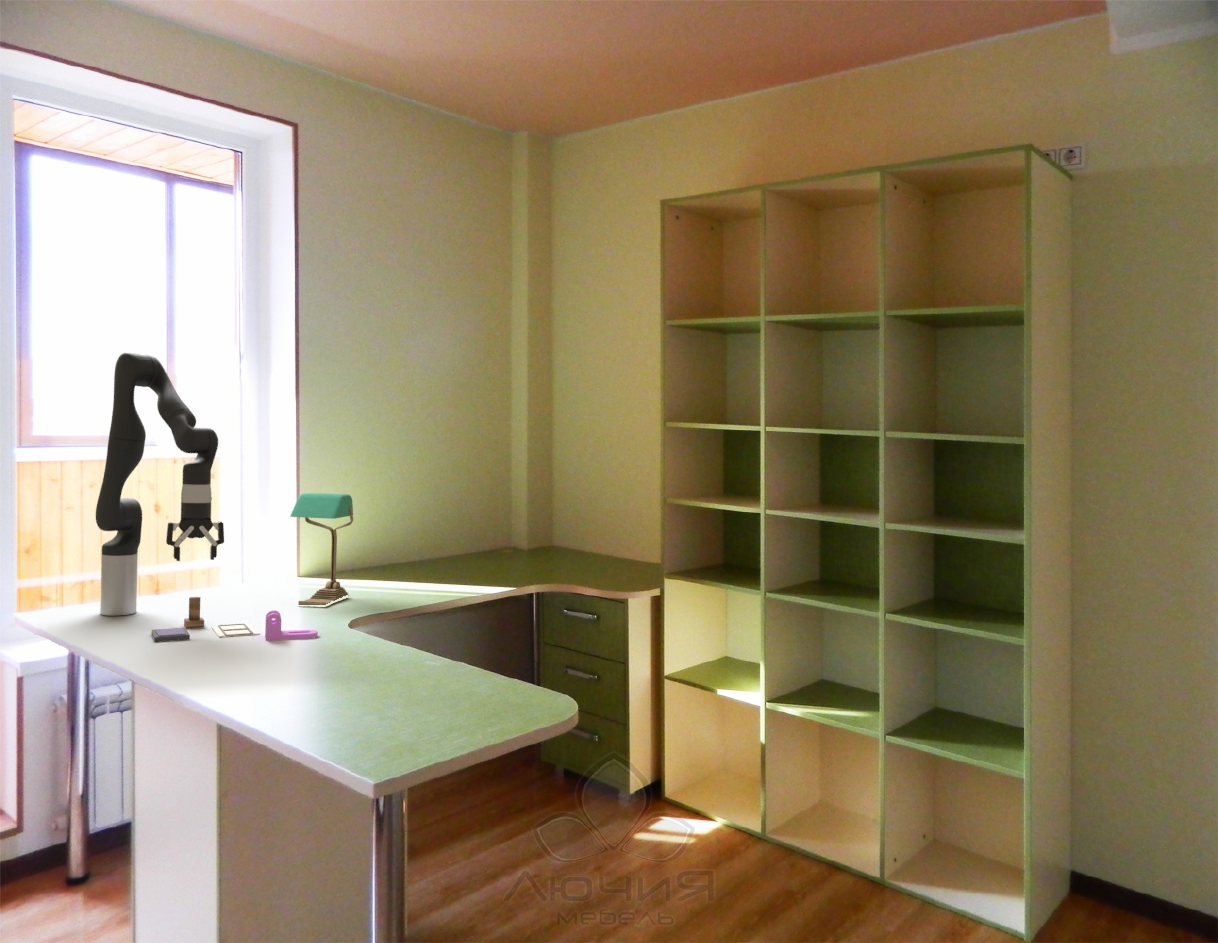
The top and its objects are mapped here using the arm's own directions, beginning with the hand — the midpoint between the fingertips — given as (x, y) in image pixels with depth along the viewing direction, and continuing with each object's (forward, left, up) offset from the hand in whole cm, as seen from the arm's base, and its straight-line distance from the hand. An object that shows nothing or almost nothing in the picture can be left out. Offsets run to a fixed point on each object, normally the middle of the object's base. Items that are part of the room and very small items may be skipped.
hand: (195, 560), depth 250 cm
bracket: (+23, +21, -19) cm, 36 cm away
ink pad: (+12, -7, -18) cm, 23 cm away
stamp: (0, 0, -18) cm, 18 cm away
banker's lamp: (-26, +41, -19) cm, 52 cm away
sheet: (+10, +9, -18) cm, 23 cm away
